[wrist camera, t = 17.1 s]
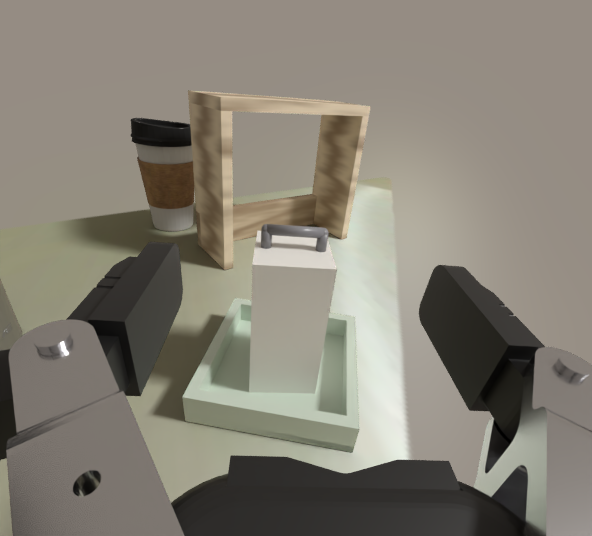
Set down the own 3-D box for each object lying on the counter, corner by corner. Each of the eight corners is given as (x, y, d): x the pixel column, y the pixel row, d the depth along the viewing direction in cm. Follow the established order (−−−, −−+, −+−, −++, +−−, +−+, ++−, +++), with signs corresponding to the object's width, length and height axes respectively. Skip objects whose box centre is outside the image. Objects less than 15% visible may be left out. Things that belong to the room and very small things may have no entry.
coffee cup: (142, 216, 53) (127, 115, 45) (195, 212, 56) (189, 118, 49) (146, 237, 46) (129, 123, 39) (206, 231, 50) (201, 126, 42)
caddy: (315, 393, 25) (341, 246, 18) (249, 392, 24) (253, 240, 18) (309, 347, 29) (329, 214, 23) (253, 345, 29) (258, 209, 22)
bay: (346, 237, 52) (370, 106, 43) (224, 269, 40) (220, 96, 31) (314, 220, 58) (329, 100, 48) (198, 244, 46) (188, 90, 36)
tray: (185, 421, 22) (182, 397, 21) (235, 318, 32) (235, 297, 31) (352, 452, 22) (359, 429, 20) (350, 336, 32) (355, 316, 30)
